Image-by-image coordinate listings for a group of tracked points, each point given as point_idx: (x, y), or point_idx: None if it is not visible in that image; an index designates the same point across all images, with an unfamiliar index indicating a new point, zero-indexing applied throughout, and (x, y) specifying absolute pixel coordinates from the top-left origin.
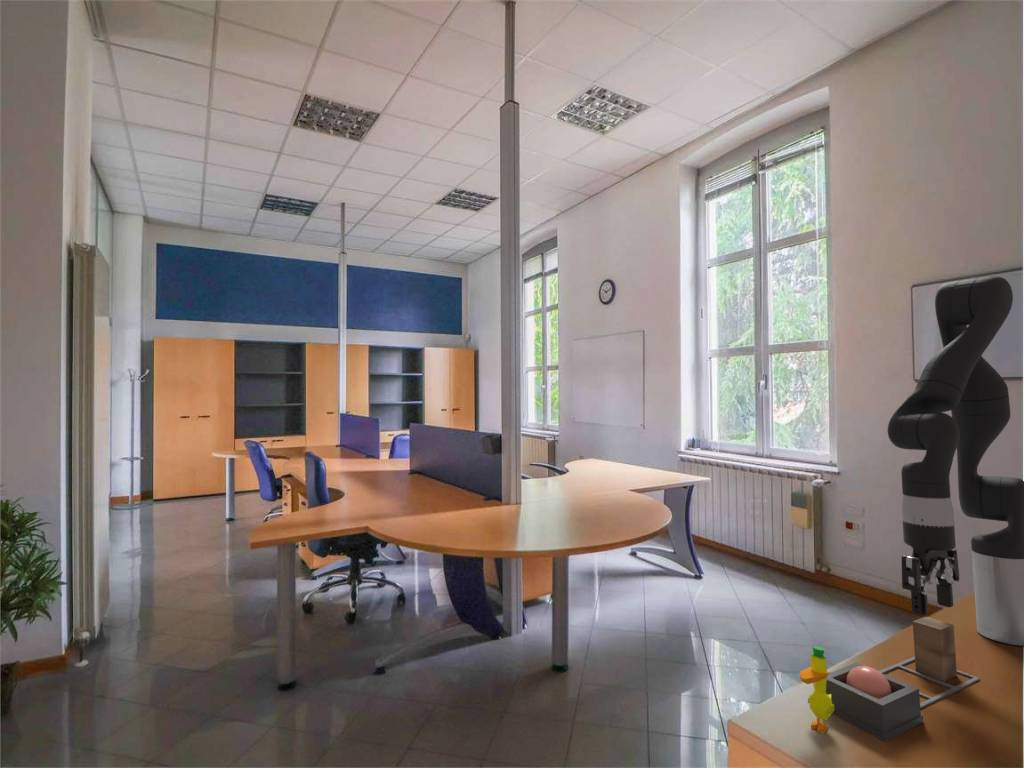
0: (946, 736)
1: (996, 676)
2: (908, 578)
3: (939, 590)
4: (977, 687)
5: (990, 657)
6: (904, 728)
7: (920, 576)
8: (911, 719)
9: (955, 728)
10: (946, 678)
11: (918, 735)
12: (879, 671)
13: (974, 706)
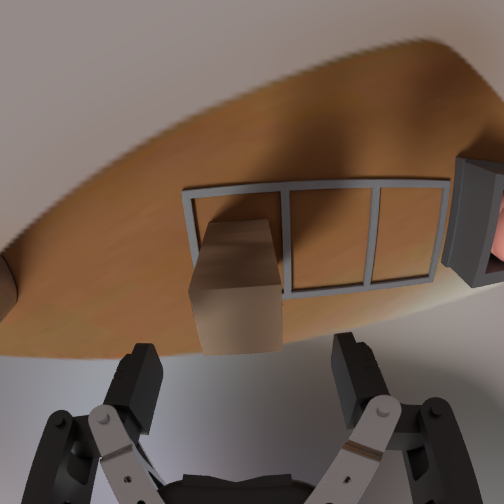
0: (464, 118)
1: (129, 187)
2: (412, 469)
3: (149, 410)
4: (225, 172)
5: (64, 243)
6: (495, 162)
7: (441, 468)
8: (483, 163)
9: (435, 117)
10: (254, 221)
11: (487, 145)
12: (349, 291)
13: (326, 130)
